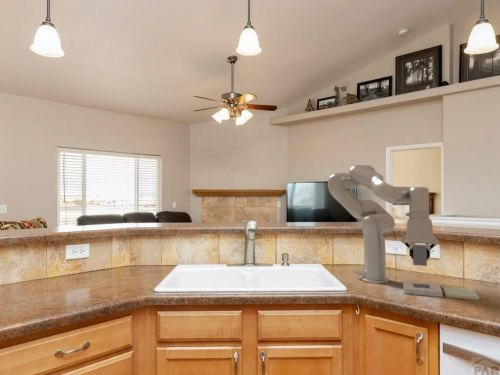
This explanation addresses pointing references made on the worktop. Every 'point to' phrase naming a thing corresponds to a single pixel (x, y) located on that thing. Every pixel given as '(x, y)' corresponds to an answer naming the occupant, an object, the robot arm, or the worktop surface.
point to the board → (460, 293)
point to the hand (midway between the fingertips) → (419, 258)
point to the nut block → (419, 255)
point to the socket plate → (422, 288)
